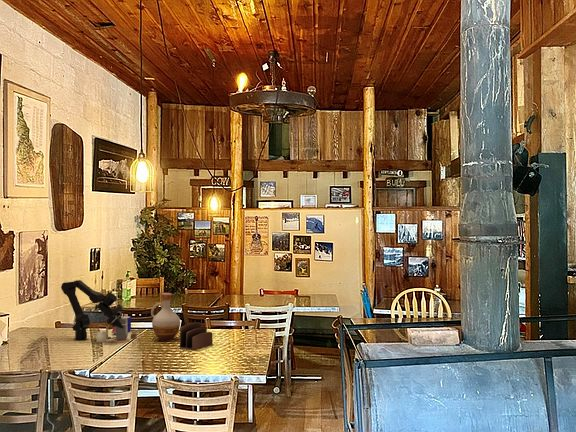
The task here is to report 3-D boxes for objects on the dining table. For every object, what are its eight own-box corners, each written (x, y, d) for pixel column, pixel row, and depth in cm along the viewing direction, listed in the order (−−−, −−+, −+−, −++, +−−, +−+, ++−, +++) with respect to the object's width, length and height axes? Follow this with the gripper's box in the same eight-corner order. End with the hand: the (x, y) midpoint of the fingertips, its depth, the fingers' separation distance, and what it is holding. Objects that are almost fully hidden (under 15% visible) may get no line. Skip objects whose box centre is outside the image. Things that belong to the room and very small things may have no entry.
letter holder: (179, 349, 336) (179, 325, 337) (200, 343, 354) (200, 320, 354) (192, 350, 332) (192, 326, 332) (212, 344, 349) (212, 322, 349)
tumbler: (115, 339, 355) (115, 319, 356) (117, 337, 362) (117, 317, 362) (125, 338, 356) (125, 319, 356) (127, 336, 362) (127, 317, 362)
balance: (96, 340, 361) (96, 325, 361) (94, 339, 365) (94, 324, 365) (119, 338, 368) (119, 323, 368) (117, 336, 373) (117, 322, 373)
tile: (117, 342, 353) (117, 341, 353) (113, 340, 360) (113, 339, 360) (129, 341, 357) (129, 339, 357) (126, 339, 364) (126, 337, 364)
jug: (144, 341, 357) (144, 294, 358) (157, 336, 374) (157, 291, 375) (172, 343, 353) (173, 295, 353) (184, 337, 370) (185, 292, 370)
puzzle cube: (126, 333, 385) (126, 318, 386) (112, 333, 386) (112, 318, 386) (131, 330, 395) (131, 316, 396) (116, 330, 396) (117, 316, 396)
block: (130, 339, 366) (130, 334, 366) (131, 338, 369) (131, 333, 369) (135, 339, 366) (135, 334, 366) (136, 338, 369) (136, 333, 369)
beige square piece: (97, 342, 354) (97, 333, 354) (95, 341, 359) (95, 331, 359) (107, 341, 357) (107, 332, 358) (105, 340, 362) (105, 330, 363)
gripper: (112, 302, 350) (130, 320, 350) (118, 299, 368) (135, 315, 369) (99, 315, 349) (117, 333, 350) (106, 311, 367) (123, 327, 368)
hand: (123, 327), depth 359 cm, fingers closed on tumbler, 6 cm apart
